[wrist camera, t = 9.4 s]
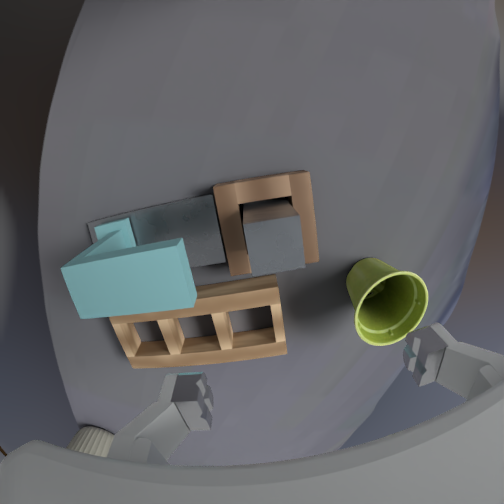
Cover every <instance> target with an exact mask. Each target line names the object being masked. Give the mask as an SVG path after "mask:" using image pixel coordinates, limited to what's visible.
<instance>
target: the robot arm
mask: <svg viewBox="0 0 504 504" xmlns="http://www.w3.org/2000/svg"><path fill="white" fill-rule="evenodd" d="M405 341H406V342H407V346H406V347H405V348H404V352H403V359H404V363H405V366H406V367H407V369H408V370H410V371H412V372H413V378H414V380H415V382H416V383H417V384H418V386H419V387H420V386H423V385H426V384H428V383H431V382H433V381H436V382H437V383H439V384H441V385H442V386H444V387H446V388H448V389H450V390H451V391H453V392H455V393H457V394H459V395H460V396H462V397H464V398H466V399H467V400H466V402H465V403H463V404H461V405H459V406H457V407H455V408H453V409H451V410H449V411H447V412H445V413H443V414H441V415H438V416H436V417H434V418H432V419H430V420H427V421H425V422H423V423H420V424H418V425H415V426H413V427H410V428H408V429H405V430H403V431H400V432H397V433H394V434H392V435H389V436H386V437H383V438H380V439H377V440H374V441H371V442H367V443H364V444H360V445H357V446H353V447H349V448H345V449H341V450H337V451H333V452H329V453H324V454H319V455H314V456H309V457H304V458H298V459H291V460H285V461H277V462H269V463H260V464H249V465H233V466H175V465H170V464H169V463H168V462H167V460H168V458H169V457H170V456H171V455H172V454H173V452H174V451H175V450H176V449H177V448H178V446H179V445H180V444H181V443H182V441H183V440H184V439H185V438H186V437H187V435H188V434H189V433H190V431H199V430H211V423H212V415H211V413H210V411H211V410H212V409H213V394H212V390H211V388H210V386H208V385H207V377H206V375H205V373H204V372H195V373H179V374H167V375H166V376H165V379H164V382H163V385H162V388H161V391H160V395H159V398H158V401H157V403H153V404H152V405H150V406H149V407H148V408H147V409H146V410H144V411H143V412H142V413H141V414H140V415H138V416H137V417H136V418H135V419H133V420H132V421H131V422H130V423H129V424H127V425H126V426H125V427H124V428H122V429H121V430H120V431H119V432H117V433H116V434H115V435H114V438H113V441H112V443H111V446H110V449H109V452H108V454H107V457H101V456H96V455H91V454H87V453H82V452H78V451H74V450H70V449H66V448H62V447H59V446H56V445H53V444H49V443H46V442H44V441H40V440H33V441H31V442H29V443H27V444H25V445H23V446H21V447H19V448H18V449H16V450H14V451H13V452H11V453H9V454H8V455H7V456H6V457H5V458H4V460H3V461H2V463H1V464H0V504H504V356H503V355H501V354H498V353H495V352H491V351H488V350H485V349H482V348H479V347H476V346H473V345H469V344H466V343H463V342H457V341H456V340H455V339H454V338H453V337H452V336H451V335H450V334H449V333H448V331H447V330H446V329H445V328H444V327H443V326H442V325H441V324H440V323H434V324H432V325H429V326H427V327H424V328H421V329H418V330H415V331H411V332H408V333H407V335H406V340H405Z"/></svg>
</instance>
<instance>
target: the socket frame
mask: <svg viewBox="0 0 504 504" xmlns="http://www.w3.org/2000/svg"><path fill="white" fill-rule="evenodd" d="M213 190H214V195H215V200H216V205H217V210H218V215H219V220H220V225H221V230H222V235H223V240H224V245H225V249H224V245H223V240H222V235H221V230H220V225H219V220H218V215H217V210H216V205H215V200H214V195H213V194H208V195H203V196H198V197H193V198H188V199H183V200H179V201H174V202H169V203H165V204H160V205H156V206H151V207H147V208H143V209H138V210H134V211H130V212H126V213H122V214H118V215H114V216H110V217H106V218H102V219H99V220H95V221H91V222H89V223H88V227H89V231H90V234H91V238H92V241H93V244H94V243H96V242H97V241H98V239H97V235H96V232H95V228H94V227H96V226H98V225H100V224H104V223H108V222H112V221H116V220H120V219H124V218H129V221H130V225H131V228H132V232H133V236H134V239H135V243H136V246H140V245H146V244H151V243H156V242H161V241H166V240H172V239H177V238H183V242H184V246H185V250H186V254H187V258H188V262H189V266H190V268H192V267H198V266H204V265H210V264H217V263H223V262H226V255H227V259H228V264H229V269H230V274H231V276H235V275H241V274H247V273H252V271H251V266H250V260H249V255H248V249H247V244H246V238H245V233H244V227H243V221H242V216H241V210H240V205H239V204H242V203H248V202H254V201H260V200H266V199H272V198H279V197H285V196H288V199H289V203H290V204H291V206H292V207H293V208H294V209H295V210H296V212H297V213H298V214H299V215H300V222H301V230H302V238H303V247H304V257H305V264H308V263H313V262H319V254H318V242H317V232H316V222H315V213H314V204H313V196H312V188H311V180H310V173H309V172H308V171H305V170H301V171H294V172H286V173H280V174H273V175H266V176H260V177H254V178H248V179H242V180H236V181H230V182H225V183H219V184H216V185H215V186H214V187H213ZM225 250H226V254H225Z"/></svg>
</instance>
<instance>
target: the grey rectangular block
mask: <svg viewBox="0 0 504 504" xmlns="http://www.w3.org/2000/svg"><path fill="white" fill-rule="evenodd" d="M243 227H244V233H245V238H246V244H247V249H248V255H249V260H250V266H251V271H252V276H258V275H265V274H271V273H277V272H283V271H289V270H295V269H301V268H306V266H305V257H304V247H303V238H302V230H301V222H300V215H299V214H298V213H297V212H296V210H295V209H294V208H293V207H292V206H291V204H290V203H289V202H288V201H287V200H286V199H285V198H284V197H279V198H272V199H266V200H260V201H254V202H248V203H244V209H243Z"/></svg>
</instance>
